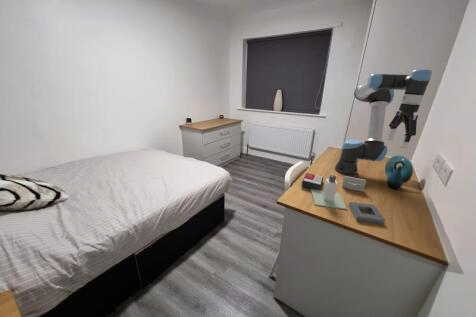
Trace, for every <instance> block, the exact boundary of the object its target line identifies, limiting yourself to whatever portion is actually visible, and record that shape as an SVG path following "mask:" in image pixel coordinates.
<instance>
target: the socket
mask: <svg viewBox="0 0 476 317" xmlns="http://www.w3.org/2000/svg"><path fill="white" fill-rule="evenodd" d="M348 207H349V210H350V212H351V214H352V215H353V217H354V218H355V220H356V221H358V222H359V221H360V222H365V223H372V224H379V225H384V224H385V222H386V219H385V218H384V216H383V215H382V214H381V213H380V210H378V208H377V206H376V205H375V204H370V203H369V204H368V203H362V202H355V201H354V202H353V201H349V203H348ZM362 211H364V212H369V213H362Z"/></svg>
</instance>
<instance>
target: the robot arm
mask: <svg viewBox="0 0 476 317" xmlns="http://www.w3.org/2000/svg"><path fill="white" fill-rule="evenodd" d="M432 74H433V71H432V70H431V69H414V70H412V71H411V73H410V74H396V73H395V74H393V73H392V74H390V73H372V74H370V75H369V77H368V79H367V82H366V83H364V84H360V85H358V86H357V87H356V88H355V89H354V91H353V96H354V97H355V99H356V100H357V101H359V102H361V103H368V106H369V107H370V116H369V124H368V129H367V130H368V131H367V139H366V140H365V141H364V142H363V140H361V139H360V140H359V139H347V140H345V141H344V142H343V144H342V146H341V153H340V155H339V159H338V161H337V162H336V164H335V165H334V170H335V171H336V172H338V173H340V174H343V175H346V176H348V175H349V176H355V175H357V173H358V172H359V170H358V161H359V160H362V161H369V162H378V163H379V162H382V161H383V160H384V159H385V158H386V156H387V154H388V146H387V145H385V142H384V141H383V135H384V134H383V133H384V124H385V118H386V111H387V110H386V109H387V107H388V106H389V105H390V104H391V103H392V102H393V100H394V98H395V90H397V91H398V90H399V91H404V94H403V96H402V100H401V103H400V105H399V107H398V110H397V111H396V112H395V113H396V114H395V115H394V116H393V118H392V120H391V121H390V123H389V125H388V127H389V132H388V135H387V139H386V140H387V141H394V139H395V138H394V137H395V135H396V132H397V129H398V127H399V126H400V125H401V124H402V123H403V124H404V128H405V134H403V137H402V140H401V144H400V146H399V148H402V149H407V148H408V146H409V143H410V140H411V138H412V137H415V136H416V135H417V126H418V125H417V123H418V122H417V121H418V118H419V116H418V115H417V114H415V113H418V111H419V109H420V104H422V102H423V98H424V96H425V92H426V90H427V87H428V85H429V83H430V80H431V77H432Z"/></svg>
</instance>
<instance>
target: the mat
mask: <svg viewBox="0 0 476 317" xmlns="http://www.w3.org/2000/svg"><path fill="white" fill-rule="evenodd" d="M310 192H311V195H312V196H311V197H312V200H313V202H314V206H318V207H326V208H333V209H339V210H348V208H347V205H346V203H345V202H344V200H343V198H342V196H341V194H340V192H337V191H336V193H335V197H334V201H328V200H324V199H323V196H322V194H323V190H322V189H320V190H316V189H312V188H310Z"/></svg>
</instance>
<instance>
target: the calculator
mask: <svg viewBox="0 0 476 317" xmlns="http://www.w3.org/2000/svg"><path fill="white" fill-rule="evenodd" d="M323 180H324V176H323V175H318V174H314V173H308V172H307V173H306V174H305V175H304V177H303V179H302V181H301V186H302V187H303V188H304V187H305V188H308V189H314V190H322V189H321V187H322V184H323Z"/></svg>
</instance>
